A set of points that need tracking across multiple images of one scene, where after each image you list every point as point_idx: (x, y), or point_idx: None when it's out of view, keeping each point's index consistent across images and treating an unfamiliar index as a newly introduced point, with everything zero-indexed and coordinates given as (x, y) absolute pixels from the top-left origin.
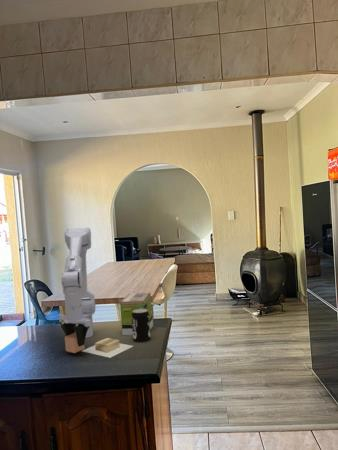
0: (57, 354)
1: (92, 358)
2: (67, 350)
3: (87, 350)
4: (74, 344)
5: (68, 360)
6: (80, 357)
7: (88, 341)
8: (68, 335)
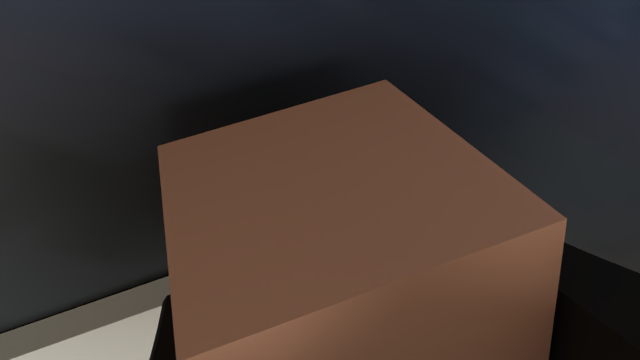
0: (541, 8)
1: (7, 287)
2: (349, 97)
3: None
4: (171, 255)
5: (200, 13)
6: None
7: None
8: (537, 313)
